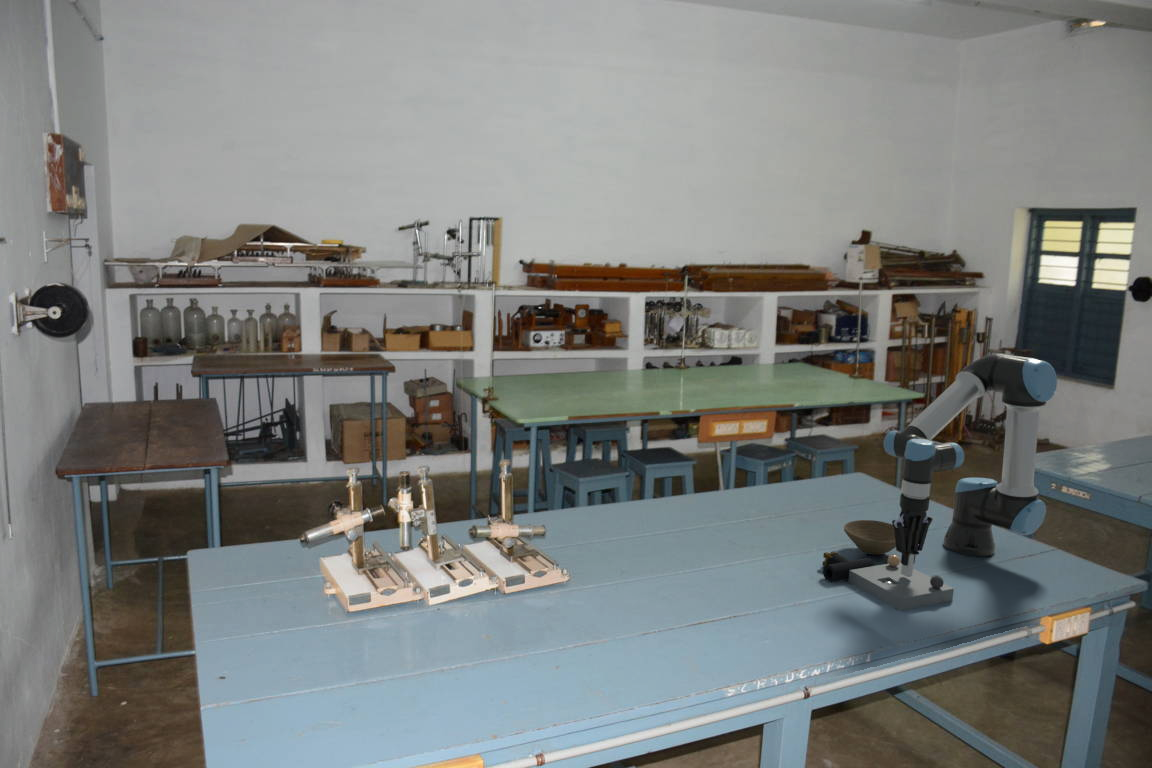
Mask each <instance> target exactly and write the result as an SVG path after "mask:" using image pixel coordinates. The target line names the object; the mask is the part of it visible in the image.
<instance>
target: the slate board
mask: <svg viewBox="0 0 1152 768" xmlns="http://www.w3.org/2000/svg"><path fill="white" fill-rule="evenodd" d="M901 568H902V564H901V561H900V563H899V565H898V566H896V567H892V566H890V565H889V564H888V563H886V564H885V563H884V564H880V565H875V566H871V567H865V568H859V569H853V570H849V579H848V580H847V582H848V583H850V584H852V585H854V586H855V587H857V588H859V589H860V590H863V591H865V592H866V593H868V594H869V595H871V596H874V597H875V598H876V599H879V600H880V601H882V602H884V603H886V604H887V605H889V606H891V607H892V608H895V609H897V610H898V611H900V612H901V611H902V612H903V611H906V610H912V609H917V608H920V607H926V606H927V607H928V606H931V605H936V604H941V603H947V602H951V601H953V600H954V599H953V598H954V591H955V590H954V588H953V587H951V586H950V585H947V584H946V583H943V586H942V587H941V588H938V589H937V588H934V587H932V586H931V584H930V580H931V578H932V576H929V575H927V574H925V573H923V572H921V571H919V570H917V569H915V568H913V572H912V577H907V576H905V575H903V574H901ZM886 581H890V582H892V583H893V584H894V585H889V586H888V585H886V584H884V582H886Z"/></svg>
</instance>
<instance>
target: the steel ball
mask: <svg viewBox="0 0 1152 768" xmlns="http://www.w3.org/2000/svg"><path fill="white" fill-rule="evenodd" d="M884 584H886V585H888V586H889V585H894V584H893V583H892V582H890V581H886V582H884Z"/></svg>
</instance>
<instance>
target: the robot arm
mask: <svg viewBox="0 0 1152 768" xmlns="http://www.w3.org/2000/svg"><path fill="white" fill-rule="evenodd" d="M1057 386H1058V378H1057V373H1056V371H1055V368H1054V367H1053V366H1052V364H1050V363H1049V362H1047V361H1045V360H1039V359H1038V358H1035V357H1034V358H1033V357H1025V356H1019V355H1011V354H1006V353H991V354H989V355H988V354H987V355H984V356H981V357H980V358H978V359H976V360H974V361H972V362H971V363H969V364H967V365H966V366H965V367H963V368H962V369H961V370H960V371H959V372H958V373H956V375H955V381H953V383H951V384H950V385H949V387H947V388H946V389H945V390H944V391H942V393H941V394H939V396H937V397H936V399H934V401H932V402H931V403H930V404H929V405H928V406H927V407H926V408H925V409H924V410H923V411H921V412H920V413H919V415H917V417H915V418H914V419H913V420H912V421H911V422H910V423H909V424H908V425H907V426H906V427H905V428H904V429H902V430H891V431H888V432H887V434H886V435H885V437H884V439H883V449H884V451H885V453H887V454H888V455H890V456H892V457H894V458H897V459H901V460H904V461H903V471H902V472H903V473H902V474H903V475H902V480H901V488H900V492H901V494H900V497H899V507H900V510H901V511H900V513H899V517H898V519H896V520H895V519H893V520H892V521H891V524H893V526H894V531H895V542H896V547H895V551H897V552H898V553H901V559H900V562H901V564H902V568H901V574H903V575H905V576H907V577H912V572H913V569H914V565H915V562H916V555H917V556H919V554H920V552H922V550H923V548H924V544H925V542H926V538H927V534H928V530H929V527H930V525H931V523H932V521H933V518H932V517H930V516H928V515H927V511H928V510H929V507H930V506H929V505H930V500H931V499H930V496H931V491H932V490H931V489H932V480H933V479H932V478H933V473H939V472H943V471H944V472H945V471H953V470H954V469H958V468H959V467H961V466H962V465H963V463H964V461H965V452H964V450H963V448H962V446H960V445H959V444H958V443H956V442H948V441H947V442H939V441H935V440H933V439H934V438H935V437H936V436H937V435H938V434H939V433H940V432H941V431H942V430H943V429H944V428H945V427H947V426H948V424H950V423H951V422H952V421H953V420H954V418H955V419H956V417H957V416H958V415H959V414H960V413H961V412H963V410H964V409H965V408H966V407H968V405H970V403H972V402H973V401H974V400H975V399H979V398H982V397H983V396H984V395H985V394H986V393H991V392H995V393H1001V395H1002V396H1001V403H1003V405H1004V406H1005V407H1006V417H1005V418H1006V419H1005V431H1004V432H1005V433H1004V434H1005V435H1004V443H1003V445H1004V446H1003V447H1004V448H1003V458H1002V459H1003V460H1002V475H1001V482H999V483H998V481H997V480H995V479H993V478H987V477H964V478H961V479H959V480H958V481H957V483H956V488H955V490H954V493H955V495H954V503H953V511H952V512H953V513H952V519H951V523H950V525H949V527H948V529H947V531H946V533H945V534H944V536H943V546H944V547H945V548H947V549H948V550H950V551H953V552H955V553H958V554H961V555H966V556H970V557H971V556H973V557H989V556H990V557H991V556H992V555H995V551H996V544H995V542H994V541H995V540H994V535H993V531H992V529H993V528H992V527H993V526H994V527H998V528H1000V529H1003V530H1006V531H1008V532H1011V533H1013V534H1018V535H1022V536H1029V535H1032V534H1033V533H1035V532H1036V531H1038V529H1039V528H1040V526H1041V525H1042V523H1043V522H1044V520H1045V516H1046V514H1047V505H1046V504H1045V502H1044V501H1042V500H1041V499H1039V490H1038V489H1037V487H1035V485H1034V479H1035V469H1036V455H1037V445H1038V444H1037V443H1038V434H1039V433H1038V432H1039V421H1040V411H1041V409H1042V408H1044V407H1045V406H1046V404H1047V402H1048V401H1049V400H1050V401H1051V399H1052V398H1053V397H1054V395H1055V392H1056V391H1057Z"/></svg>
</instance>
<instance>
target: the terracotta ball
mask: <svg viewBox="0 0 1152 768" xmlns="http://www.w3.org/2000/svg"><path fill="white" fill-rule="evenodd" d="M900 562H901V559H900V557H899V556H897V555H896V554H891V555H889V556H888V557H887V564H889V565H890V566H892V567H896V566H898V565H899V563H900Z"/></svg>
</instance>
